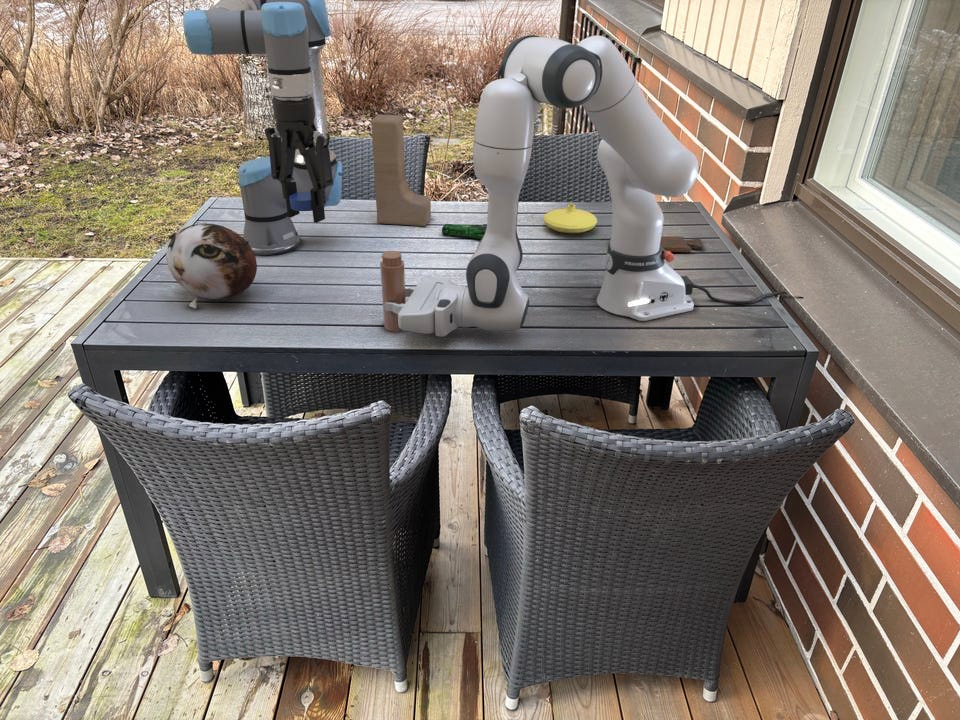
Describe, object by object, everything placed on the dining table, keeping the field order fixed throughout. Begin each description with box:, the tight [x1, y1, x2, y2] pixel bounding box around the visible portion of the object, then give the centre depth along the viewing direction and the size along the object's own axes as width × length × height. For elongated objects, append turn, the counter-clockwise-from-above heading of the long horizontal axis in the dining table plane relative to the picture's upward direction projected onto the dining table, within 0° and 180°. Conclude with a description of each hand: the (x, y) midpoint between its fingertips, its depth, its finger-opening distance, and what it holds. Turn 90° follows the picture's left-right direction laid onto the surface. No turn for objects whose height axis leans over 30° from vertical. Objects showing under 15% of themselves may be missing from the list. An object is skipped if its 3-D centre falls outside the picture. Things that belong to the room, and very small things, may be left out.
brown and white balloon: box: [165, 222, 258, 309], centre depth 165 cm, size 22×18×20 cm
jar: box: [379, 250, 407, 332], centre depth 153 cm, size 5×5×17 cm
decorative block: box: [370, 114, 432, 227], centre depth 207 cm, size 8×15×30 cm, turn 82°
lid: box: [289, 192, 312, 212], centre depth 141 cm, size 6×6×2 cm
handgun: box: [441, 223, 487, 241], centre depth 207 cm, size 16×3×15 cm
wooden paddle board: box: [609, 235, 704, 253], centre depth 200 cm, size 26×2×10 cm
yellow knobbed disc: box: [543, 203, 598, 234], centre depth 209 cm, size 16×16×7 cm
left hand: (306, 217), depth 143 cm, fingers closed on lid, 6 cm apart
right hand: (390, 299), depth 154 cm, fingers closed on jar, 5 cm apart
